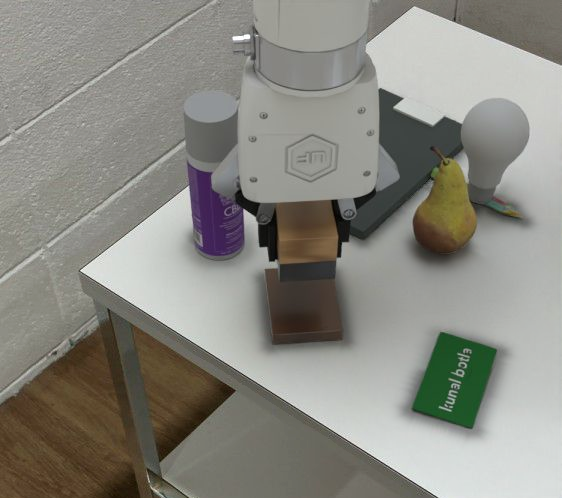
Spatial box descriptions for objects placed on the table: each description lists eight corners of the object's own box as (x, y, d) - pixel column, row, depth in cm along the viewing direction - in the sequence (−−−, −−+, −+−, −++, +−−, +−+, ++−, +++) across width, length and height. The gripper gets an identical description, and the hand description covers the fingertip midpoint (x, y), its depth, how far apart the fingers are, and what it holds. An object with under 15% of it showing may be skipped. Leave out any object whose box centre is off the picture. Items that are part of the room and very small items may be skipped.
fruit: (466, 271, 86) (489, 165, 76) (404, 259, 87) (419, 153, 77) (475, 231, 89) (498, 124, 80) (415, 220, 90) (431, 113, 81)
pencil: (526, 219, 91) (376, 143, 98) (529, 210, 90) (377, 134, 97) (519, 226, 90) (368, 149, 97) (521, 217, 89) (369, 140, 96)
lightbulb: (493, 177, 94) (518, 80, 86) (520, 216, 91) (548, 118, 82) (437, 187, 93) (456, 89, 85) (461, 226, 89) (484, 128, 81)
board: (379, 95, 103) (380, 87, 102) (474, 137, 98) (475, 129, 97) (263, 188, 93) (263, 180, 92) (362, 240, 88) (363, 232, 88)
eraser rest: (330, 273, 86) (331, 264, 85) (342, 339, 80) (343, 330, 80) (264, 278, 85) (264, 268, 84) (272, 344, 80) (272, 335, 79)
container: (234, 265, 86) (227, 128, 75) (186, 253, 87) (172, 116, 76) (251, 232, 89) (247, 95, 77) (205, 221, 90) (194, 84, 78)
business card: (496, 351, 80) (439, 333, 81) (497, 349, 80) (440, 331, 80) (471, 430, 75) (411, 409, 76) (472, 427, 74) (411, 407, 75)
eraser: (324, 220, 80) (327, 178, 76) (335, 279, 75) (338, 237, 72) (271, 223, 80) (271, 181, 76) (279, 282, 75) (279, 240, 72)
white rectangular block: (405, 99, 101) (405, 96, 101) (445, 116, 99) (445, 114, 99) (392, 109, 100) (393, 107, 99) (432, 127, 98) (433, 125, 97)
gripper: (184, 85, 60) (201, 287, 74) (445, 72, 61) (413, 274, 75) (181, 22, 65) (197, 223, 79) (423, 12, 66) (397, 212, 80)
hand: (303, 246), depth 77 cm, fingers closed on eraser, 4 cm apart
